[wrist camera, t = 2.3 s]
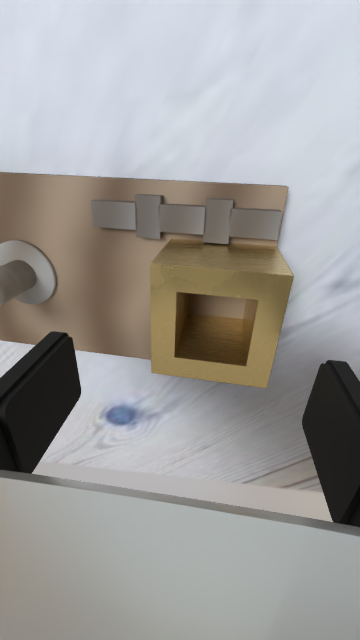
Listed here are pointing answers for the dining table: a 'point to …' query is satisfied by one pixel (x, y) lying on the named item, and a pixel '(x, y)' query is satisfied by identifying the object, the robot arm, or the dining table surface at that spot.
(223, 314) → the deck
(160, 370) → the end link
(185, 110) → the dining table surface
